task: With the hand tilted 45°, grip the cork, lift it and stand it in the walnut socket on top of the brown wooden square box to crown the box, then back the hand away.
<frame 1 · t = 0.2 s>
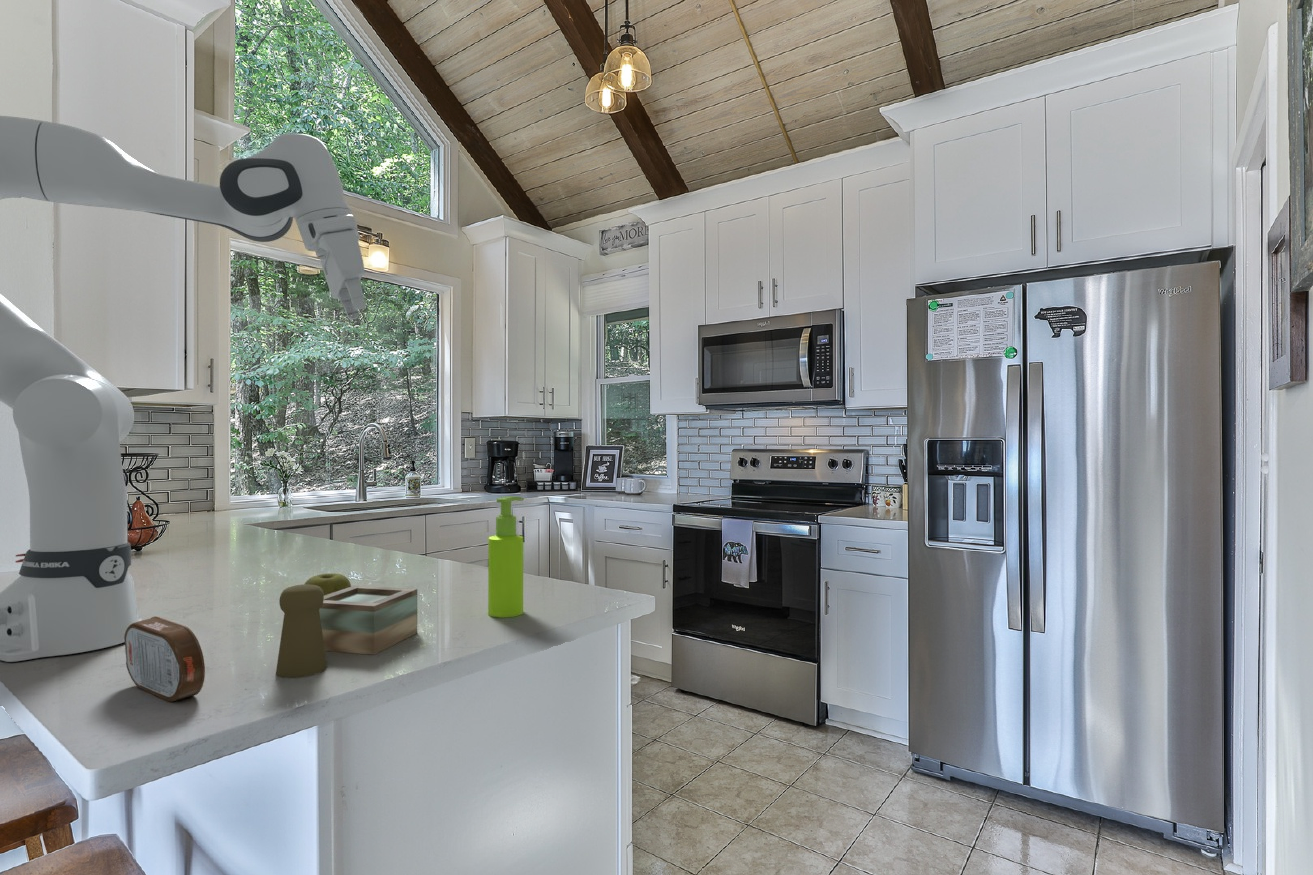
hand: (357, 313, 119), 51 cm above the counter, tool tilted 20°, fingers open, 8 cm apart
apple: (326, 619, 116), on the counter
soap dispenser: (507, 613, 120), on the counter
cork: (301, 671, 91), on the counter
tin: (162, 694, 83), on the counter
brown wooden square box: (363, 640, 103), on the counter
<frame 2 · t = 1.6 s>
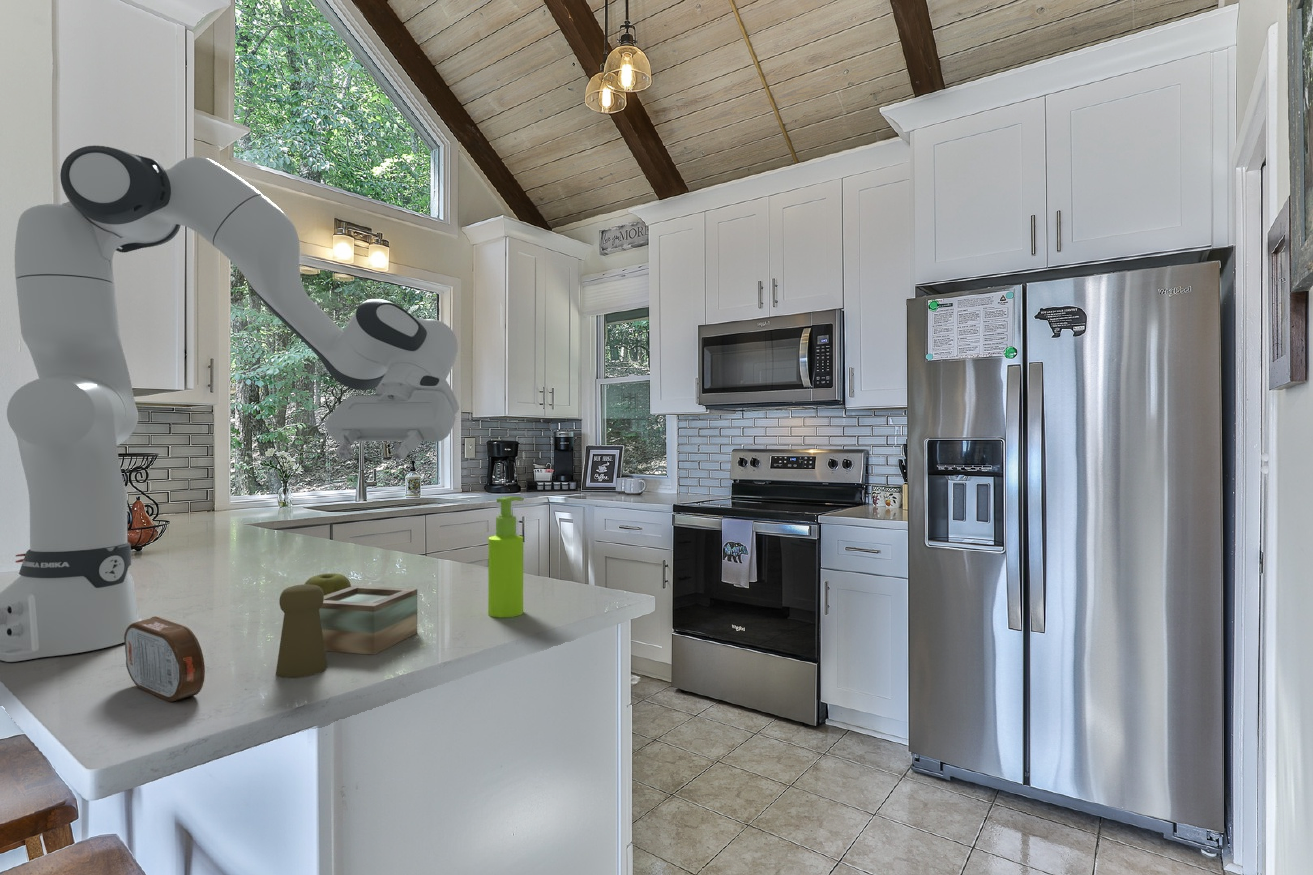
hand: (369, 456, 105), 27 cm above the counter, tool tilted 45°, fingers open, 8 cm apart
nothing on the counter moved.
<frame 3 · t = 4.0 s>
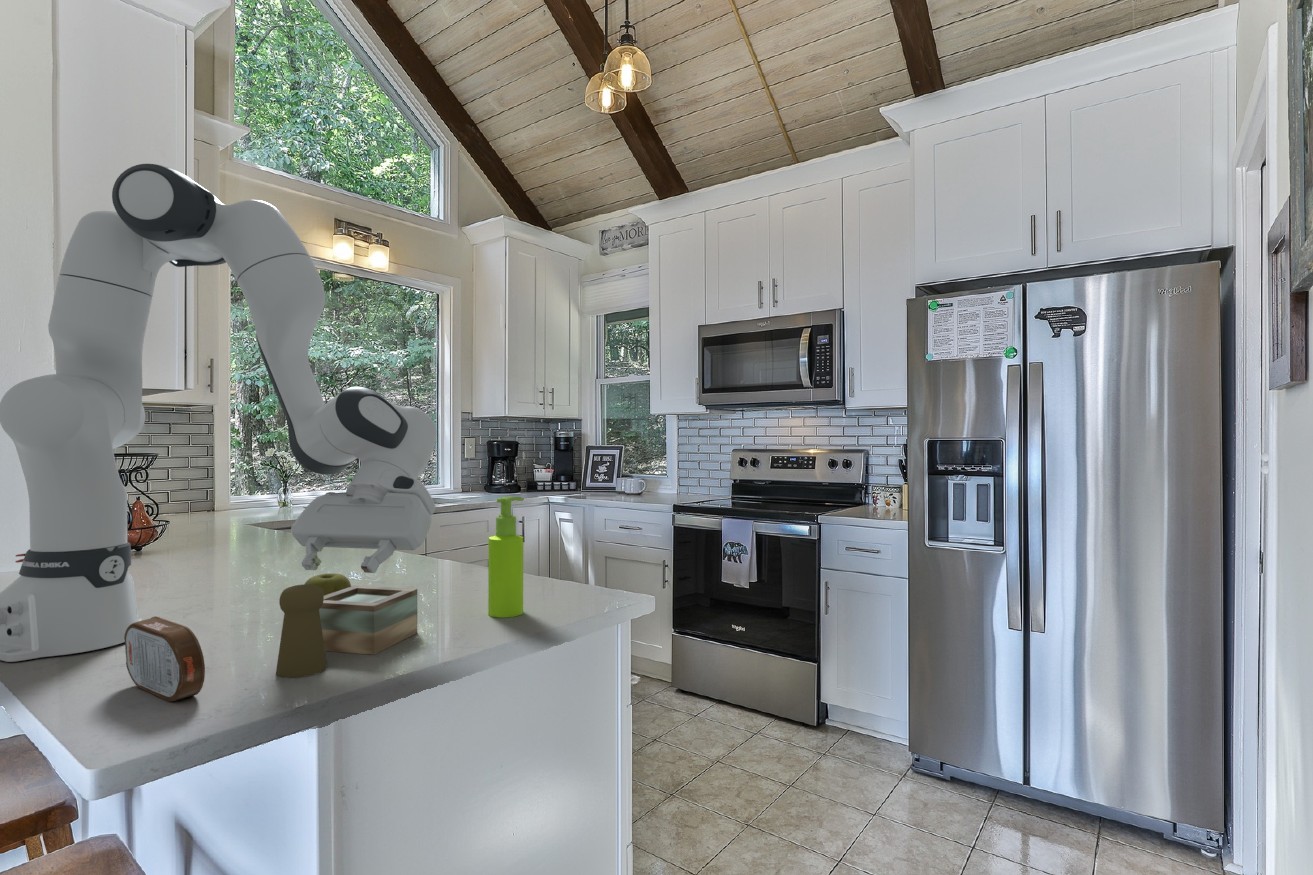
hand: (337, 569, 98), 12 cm above the counter, tool tilted 45°, fingers open, 8 cm apart
nothing on the counter moved.
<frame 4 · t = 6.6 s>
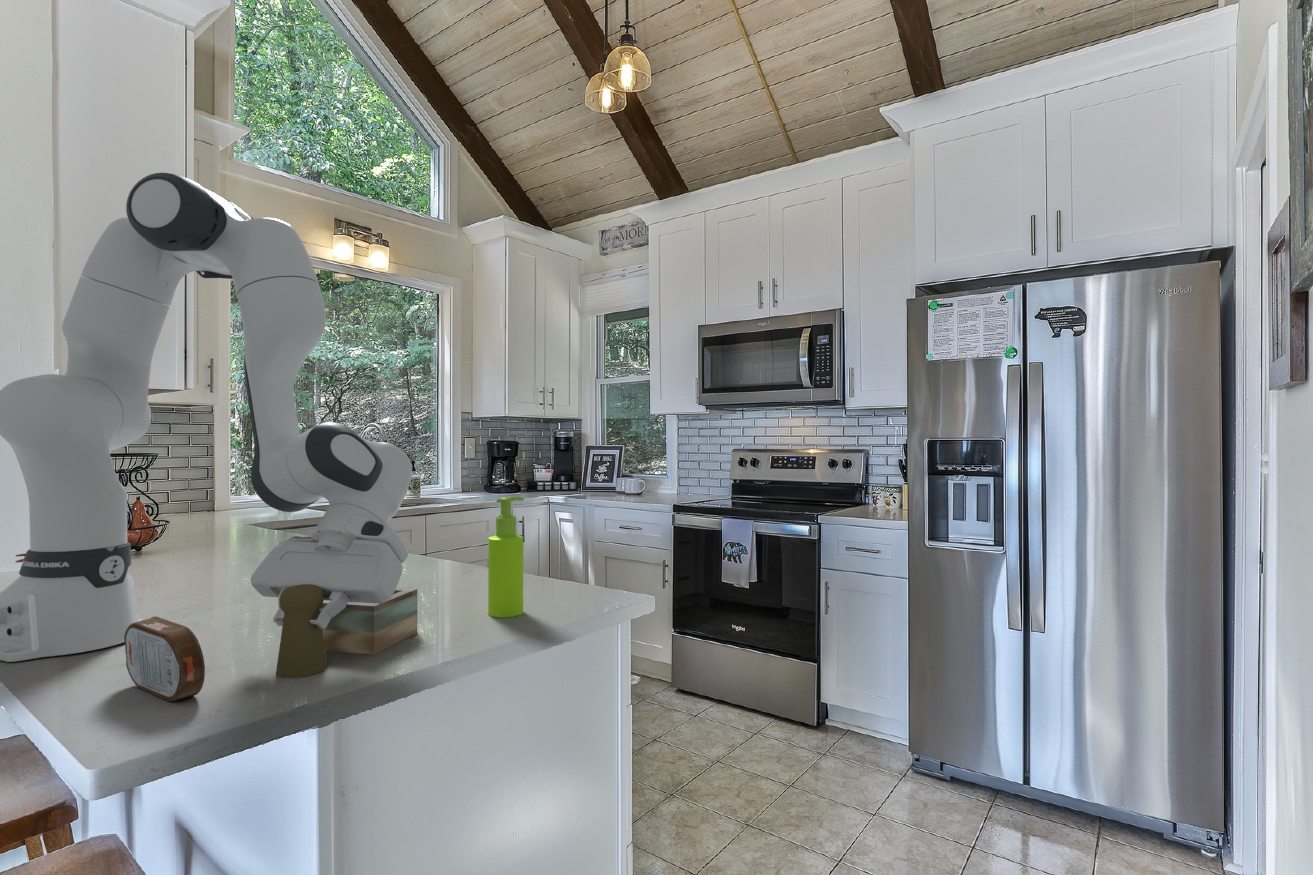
hand: (298, 625, 90), 6 cm above the counter, tool tilted 45°, fingers closed on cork, 4 cm apart
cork: (301, 670, 91), on the counter, touching gripper
everything else where it was.
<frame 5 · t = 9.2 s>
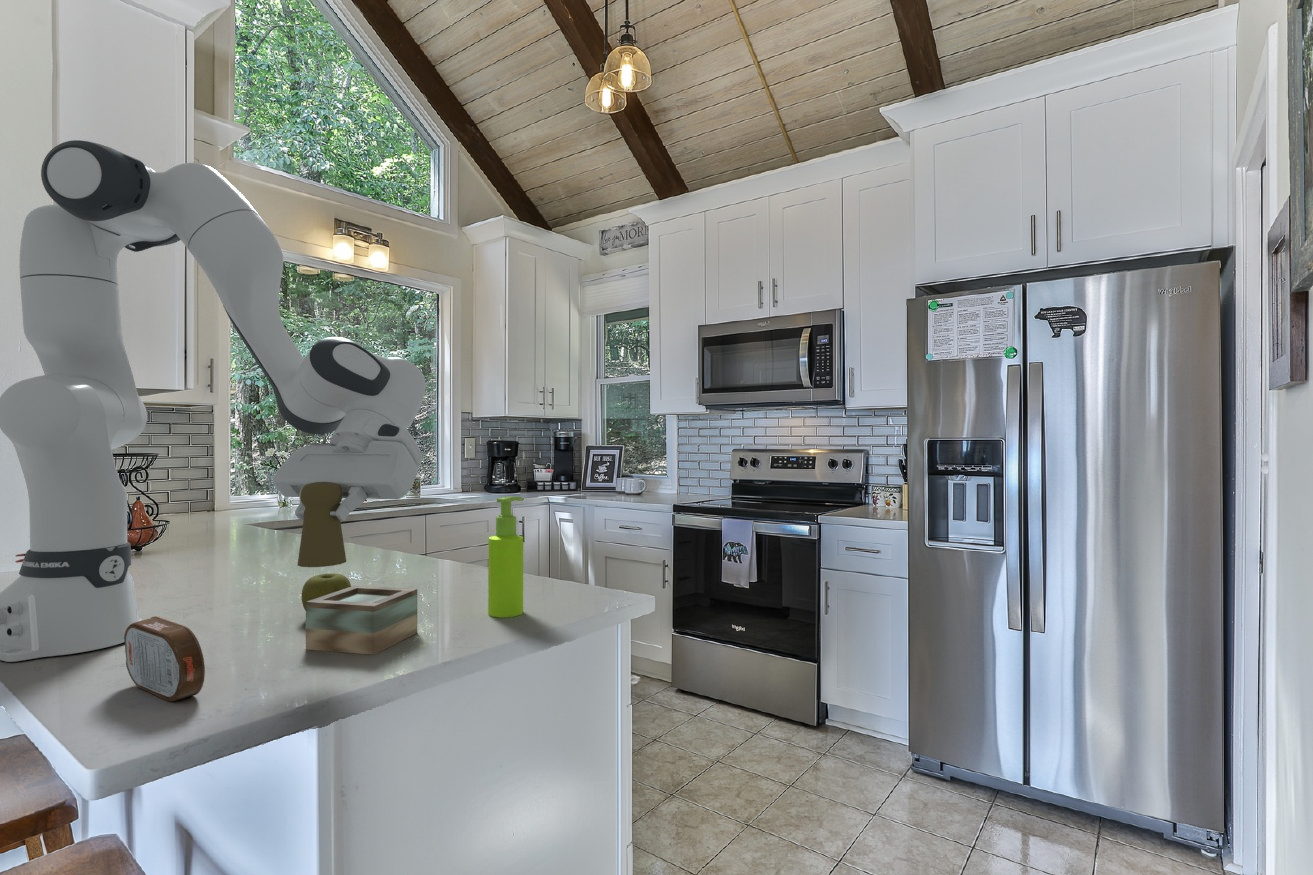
hand: (318, 517, 94), 20 cm above the counter, tool tilted 45°, fingers closed on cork, 4 cm apart
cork: (322, 564, 94), point 13 cm above the counter, touching gripper
everything else where it was.
when the fingers open (14 cm above the counter, at t = 11.8 s): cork drops 1 cm, resting on brown wooden square box.
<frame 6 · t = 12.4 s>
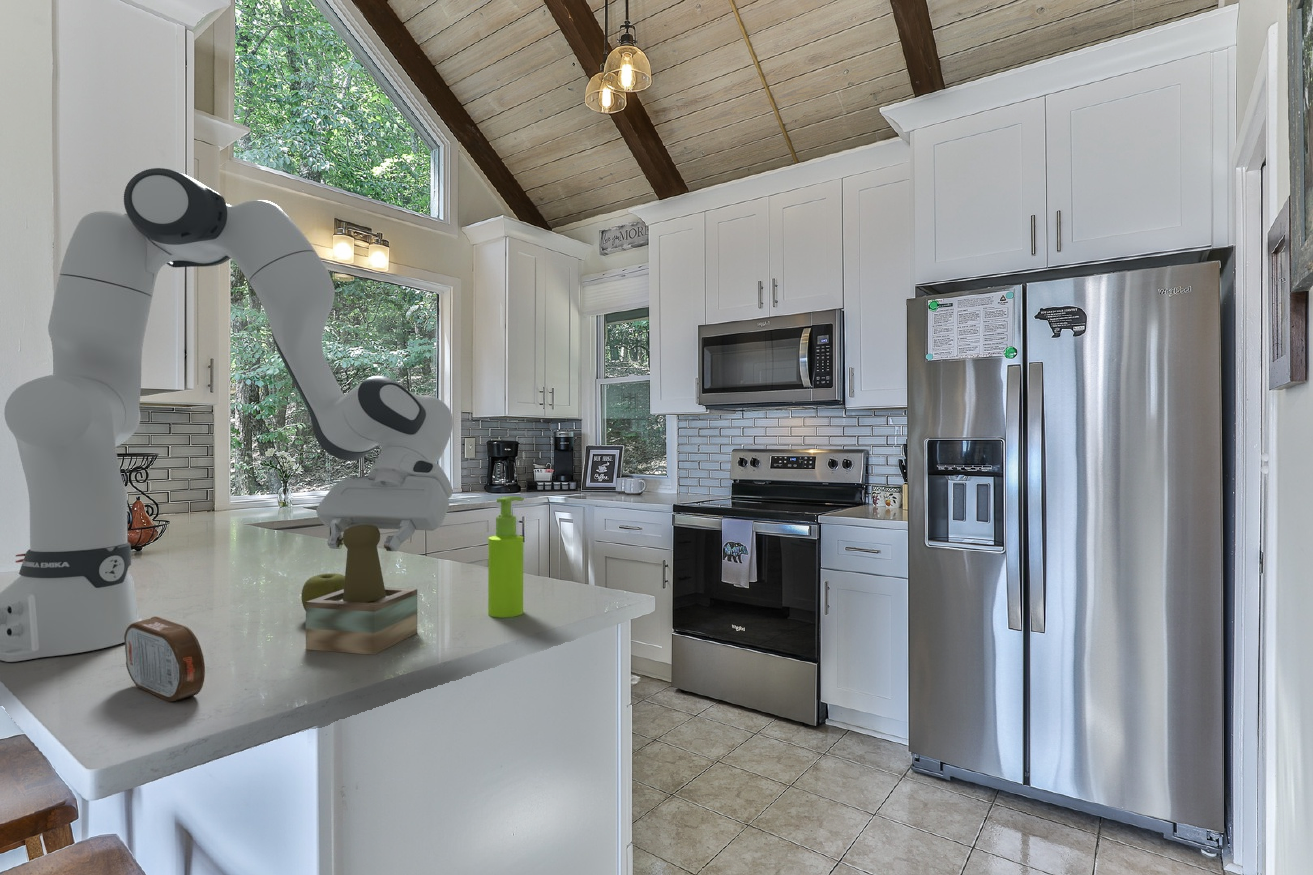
hand: (361, 547, 103), 14 cm above the counter, tool tilted 45°, fingers open, 8 cm apart
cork: (364, 599, 104), point 6 cm above the counter, touching brown wooden square box
everything else where it was.
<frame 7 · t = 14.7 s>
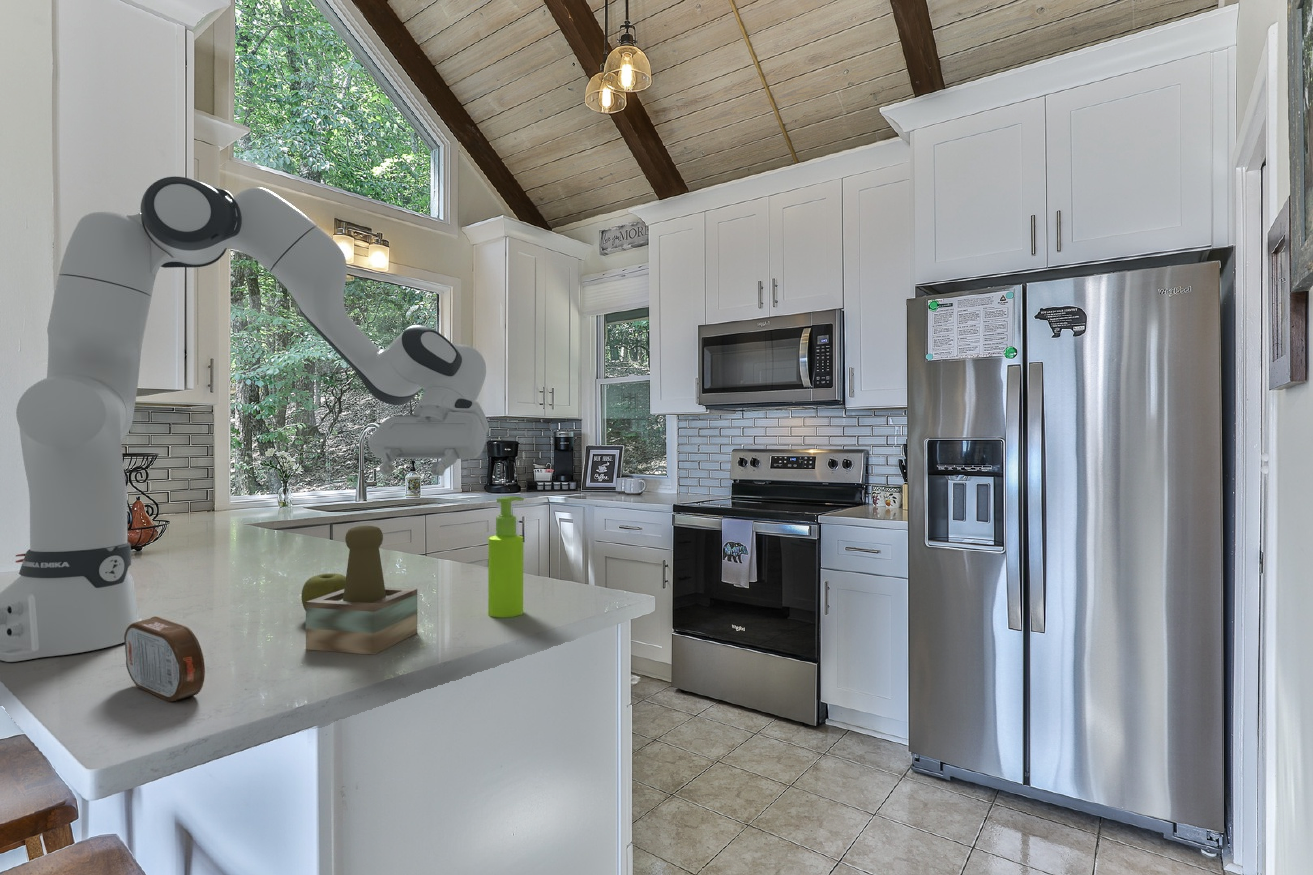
hand: (410, 472, 115), 24 cm above the counter, tool tilted 45°, fingers open, 8 cm apart
nothing on the counter moved.
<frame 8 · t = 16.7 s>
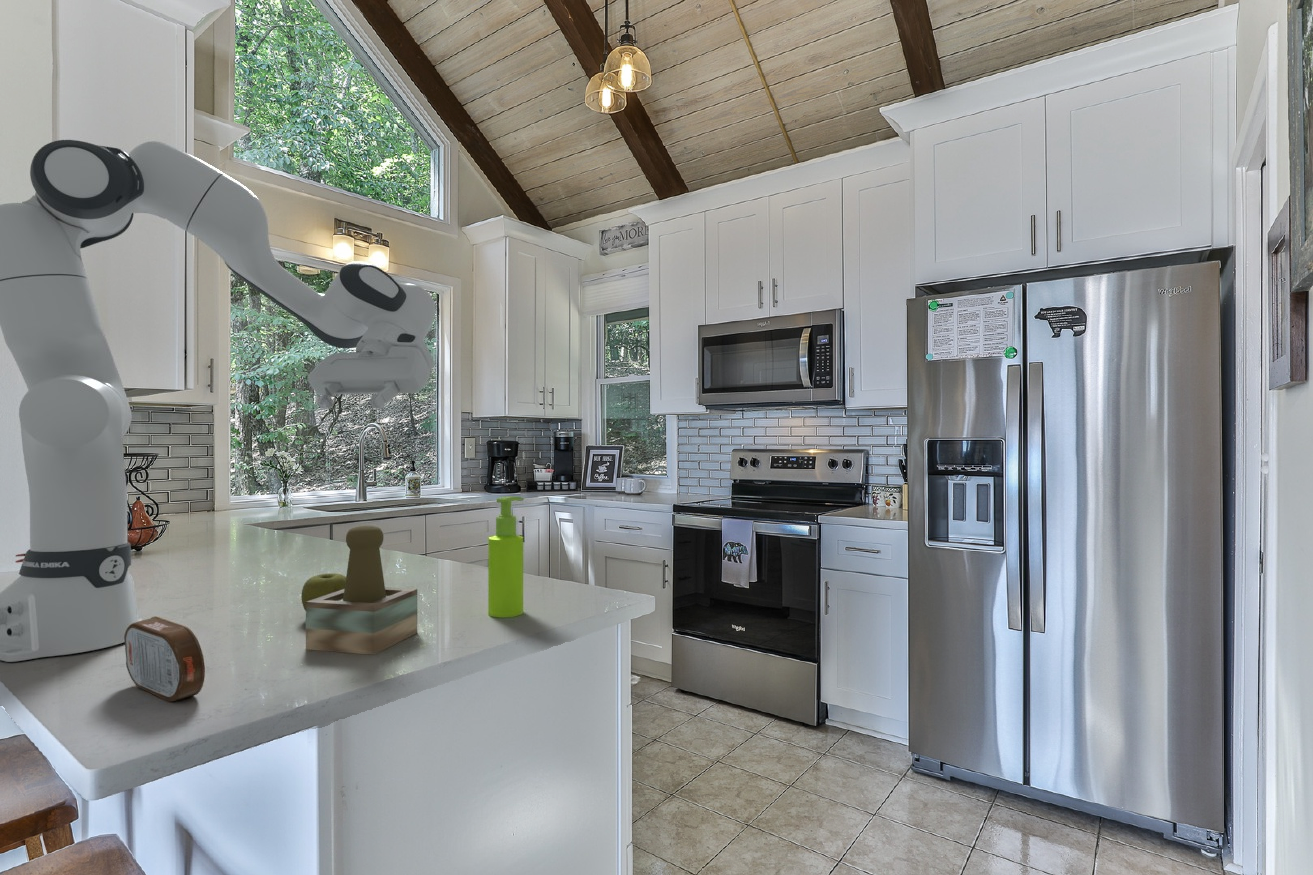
hand: (348, 405, 112), 35 cm above the counter, tool tilted 45°, fingers open, 8 cm apart
nothing on the counter moved.
at the end: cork 0.3 cm off-centre on the brown wooden square box, point 5.8 cm above the brown wooden square box's base; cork tilted 0°; the gripper is holding nothing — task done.
